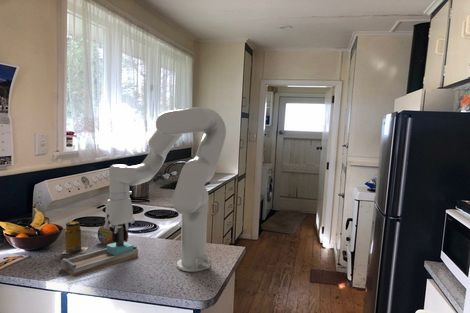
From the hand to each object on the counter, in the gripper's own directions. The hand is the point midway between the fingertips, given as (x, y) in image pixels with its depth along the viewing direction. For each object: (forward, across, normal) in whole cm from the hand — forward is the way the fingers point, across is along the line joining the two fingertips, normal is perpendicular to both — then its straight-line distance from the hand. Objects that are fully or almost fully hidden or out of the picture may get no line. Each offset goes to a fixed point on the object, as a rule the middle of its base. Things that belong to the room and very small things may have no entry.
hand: (119, 240), depth 142 cm
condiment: (+7, +9, -19) cm, 22 cm away
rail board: (+7, +8, 0) cm, 10 cm away
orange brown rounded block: (+7, -6, -15) cm, 18 cm away
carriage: (+5, 0, 0) cm, 5 cm away
